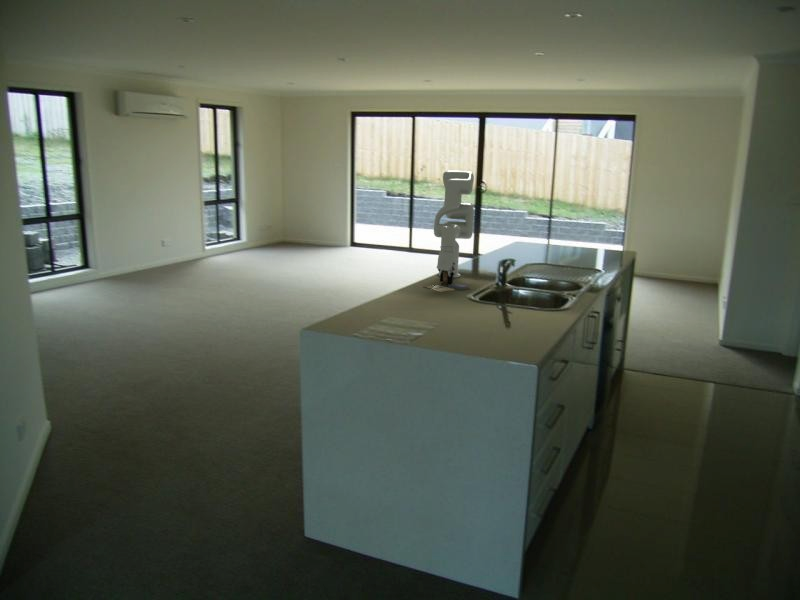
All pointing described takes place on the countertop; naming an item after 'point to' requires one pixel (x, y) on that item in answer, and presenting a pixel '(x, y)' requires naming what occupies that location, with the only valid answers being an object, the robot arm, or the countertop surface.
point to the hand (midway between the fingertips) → (446, 282)
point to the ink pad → (459, 286)
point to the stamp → (445, 278)
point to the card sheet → (441, 288)
